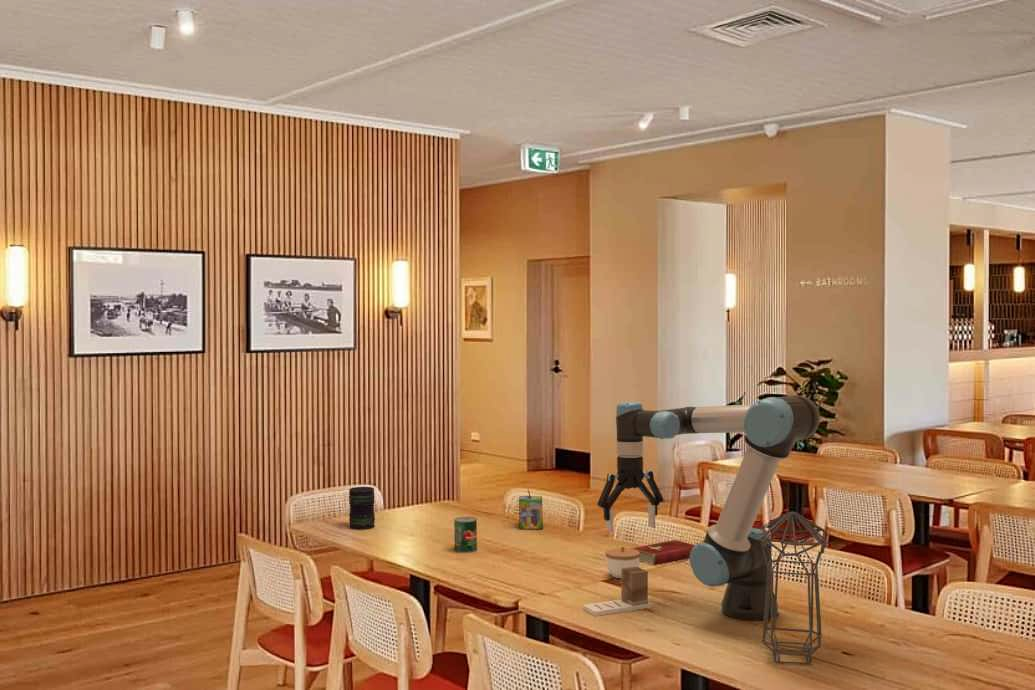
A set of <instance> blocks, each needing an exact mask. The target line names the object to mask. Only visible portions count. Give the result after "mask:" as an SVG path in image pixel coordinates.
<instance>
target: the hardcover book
mask: <svg viewBox="0 0 1035 690" xmlns="http://www.w3.org/2000/svg"><path fill="white" fill-rule="evenodd" d="M696 545H697V544H694V543H689V542H685V541H683V540H678V539H672V540H667V541H666V540H665V541H662V542H656V543H651V544H645V545H640V546H634V547H633V546H632V547H630V548H629V549H634V550H637V551H639V552H640V561H639V562H641V561H643V562H642V563H644V562H647V563H646V564H648V563H649V564H648V565H651V564H653V565H654V566H658V565H657V564H659V565H664V564H668V563H674V562H679V561H683V560H690V553H691V550H692V549H693V547H694V546H696ZM678 560H679V561H678ZM673 561H674V562H673ZM663 563H664V564H663ZM653 565H652V566H653Z"/></svg>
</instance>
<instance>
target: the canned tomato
mask: <svg viewBox="0 0 1035 690" xmlns="http://www.w3.org/2000/svg"><path fill="white" fill-rule="evenodd" d="M453 520H454V521H453V522H454V523H453V525H454V526H453V527H454V534H453V535H454V552H456V553H460V554H470V553H471V554H472V553H475V552H477V551H478V533H477V531H478V528H477V527H478V526H477V524H478V523H477V521H478V520H477V518H476V517H474V516H459V517H456V518H454V519H453Z"/></svg>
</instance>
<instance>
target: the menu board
mask: <svg viewBox="0 0 1035 690" xmlns="http://www.w3.org/2000/svg"><path fill="white" fill-rule="evenodd" d="M651 607H652V608H653V603H651V602H649V601H648V604H641V605H634V606H632V605H630V604H628V603H626V602H624V601H622V599H617V600H616V599H615V600H610V601H602V602H595V603H588V604H587V603H586V604H583V605H582V610H583V609H584V610H583V611H585V612H587V613H588V612H589V614H590V615H593V616H594V617H599V616H600V617H601V616H605V615H606V614H607V615H612V614H619V612H620V613H626V612H633V610H634V611H639V609H640V610H645V609H644V608H647V609H652V608H651Z"/></svg>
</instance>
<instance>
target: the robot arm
mask: <svg viewBox="0 0 1035 690" xmlns="http://www.w3.org/2000/svg"><path fill="white" fill-rule="evenodd" d="M643 408H644V407H643V404H642V403H641V402H639V401H622V402H621V401H620V402H618V403H617V404H616V408H615V409H616V412H615V422H616V425H615V426H616V455H618V456H617V457H616V469H617V470H616V471H617V472H616V474H615V473H607V475H606V476H607V477H606V482H605V485H604V487H603V489H602V492H601V494H600V497H599V499H598V501H597V507H599V508H602V509H603V519H604V521H605V522H606V531H607V532H608V533H614V509H613V508H612V507H613V506H614V504H615V502H616V501H617V499H618V498H619V496H620V495H621V494H622V492H624V490H625V489H627V490H630V489H639V490H640V491H641V493H642V494H643V496H644V497H645V498H646V499H647V500H648V501H649V503H648V504H647V513H648V514H647V515H648V517H647V518H648V521H647V522H648V525H647V526H648V527H649V528H652V529H656V516H658V506H660V504H661V503H662V502H664V498H663V494H661V491H660V489H659V487H658V485H657V483H656V480H655V477H654V471H652V470H648V469H646V470H645V471H644V457H643V455H644V437H647V438H654V439H655V438H656V439H660V440H663V439H669V440H670V439H673V438H675V437H676V436H678V435H687V434H695V435H696V434H725V433H727V434H728V433H730V434H731V433H732V434H733V433H738V434H740V433H744V434H745V436H744V438H743V441H744V443H745V446H746V447H747V448H746V450H745V453H744V456H743V457H742V460H741V463H740V465H739V468H738V470H737V473H736V475H735V478H734V480H733V482H732V485H731V487H730V489H729V492H728V495H727V498H726V500H725V502H724V504H723V507H722V510H721V512H720V515H719V516H718V520H717V523H716V524H712V525H710V526H709V527H708V528H707V531H706V533H705V536H704V539H703V541H702V542H699V543H696V544H695V545H696V546H694V547H693V549H692V550H691V553H690V558H689V565H690V568H691V569H692V573H693V575H694V576H695V578H696V579H697V580H698V581H699V582H700V583H701V584H703V585H704V586H707V587H712V588H713V587H723V586H725V585H727V586H726V588H725V591H724V594H723V595H724V596H723V598H722V601H721V612H722V613H723V614H724V615H726V616H728V617H730V618H731V617H732V618H734V619H741V620H748V621H749V620H750V621H762V620H763V621H764V611H765V598H766V585H767V567H766V562H765V558H764V553H763V549H762V547H761V542H760V540H759V538H760V536H762V535H761V534H762V533H763V531H762V528H757V527H756V528H754V527H753V526H754V524H755V521H756V518H757V516H758V514H759V511H760V508H761V507H762V504H763V502H764V499H765V497H766V494H767V493H768V489H769V488H770V485H771V483H772V480H773V477H774V475H775V473H776V471H777V468H778V466H779V463H780V461H783V460H786V459H787V458H788V457H789V456H790V453H791V451H792V449H793V446H794V444H795V442H800V441H803V440H806V439H808V438H810V437H812V436H813V435H814V434H815V433H816V431H817V429H818V428H819V425H820V419H821V418H820V416H821V415H820V412H819V409H818V407H817V405H816V404H815V402H813V401H812V400H811V399H809V398H808V397H806V396H802V395H798V394H797V395H795V394H794V395H786V396H781V397H780V396H778V397H773V396H772V397H770V396H769V397H766V398H762V399H760V400H757V401H755V402H753V404H732V405H711V406H698V407H697V406H685V407H680V408H679V407H678V408H669V409H661V410H648V409H647V410H645V409H643ZM644 479H646V482H647V484H648V486H649V488H650V490H651V491H650V490H649V489H648V487H647V485H645V483H644V481H643V480H644ZM616 481H618V482H617V483H616V484H615V482H616ZM614 485H615V486H614ZM613 487H614V489H613ZM770 534H771V532H770V533H769V534H767V535H766V536H765V537H766V538H767V537H768V536H769V535H770ZM768 539H772V535H771V536H770V537H769V538H768ZM770 542H771V543H772V541H770ZM766 544H767V548H768V551H769V553H770V556H771V557H772V547H773V546H771V545H770V544H769V543H768V542H766ZM765 553H766V557H767V562H768V563H769V561H771V559H770V557H769V554H768V552H767V549H766V547H765ZM769 569H770V566H769ZM774 601H775V591H773V618H774ZM778 614H779V604H778V603H777V606H776V617H777V616H778ZM768 620H771V588H770V601H769V615H768Z"/></svg>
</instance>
